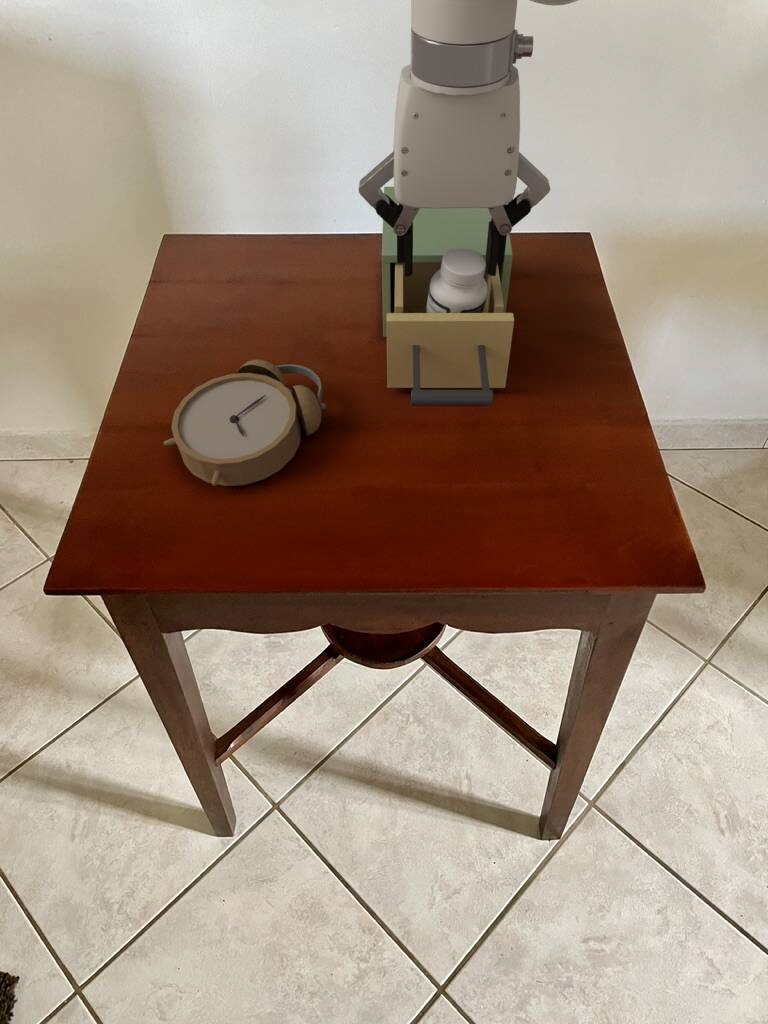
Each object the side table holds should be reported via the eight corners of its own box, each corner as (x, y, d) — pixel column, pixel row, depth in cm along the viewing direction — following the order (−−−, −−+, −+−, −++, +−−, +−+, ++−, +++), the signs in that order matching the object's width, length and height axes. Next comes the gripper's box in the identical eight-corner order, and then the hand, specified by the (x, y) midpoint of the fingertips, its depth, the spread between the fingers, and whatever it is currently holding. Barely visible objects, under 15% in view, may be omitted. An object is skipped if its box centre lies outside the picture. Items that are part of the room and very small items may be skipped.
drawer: (512, 444, 70) (522, 376, 64) (386, 443, 70) (385, 376, 64) (495, 311, 83) (502, 245, 77) (389, 311, 83) (388, 245, 77)
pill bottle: (475, 327, 79) (495, 246, 71) (473, 364, 76) (493, 284, 68) (422, 320, 79) (436, 238, 71) (418, 357, 76) (432, 275, 68)
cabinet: (502, 337, 82) (512, 254, 74) (383, 337, 82) (381, 255, 75) (493, 265, 90) (501, 185, 83) (385, 265, 91) (384, 186, 83)
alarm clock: (143, 423, 69) (266, 326, 74) (164, 456, 74) (279, 362, 78) (221, 487, 64) (347, 378, 69) (239, 518, 68) (356, 413, 73)
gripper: (571, 35, 60) (539, 245, 73) (346, 37, 60) (356, 246, 74) (586, 73, 55) (549, 291, 68) (341, 75, 55) (353, 291, 69)
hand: (449, 266), depth 71 cm, fingers open, 6 cm apart
